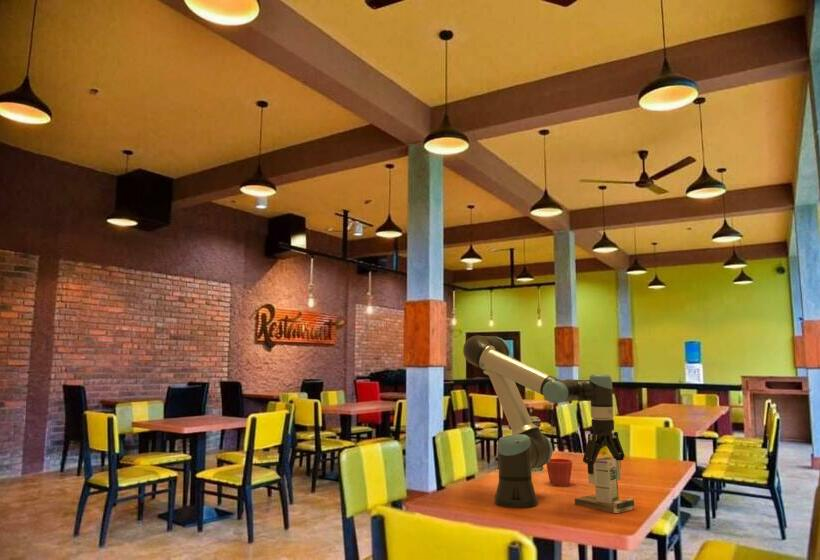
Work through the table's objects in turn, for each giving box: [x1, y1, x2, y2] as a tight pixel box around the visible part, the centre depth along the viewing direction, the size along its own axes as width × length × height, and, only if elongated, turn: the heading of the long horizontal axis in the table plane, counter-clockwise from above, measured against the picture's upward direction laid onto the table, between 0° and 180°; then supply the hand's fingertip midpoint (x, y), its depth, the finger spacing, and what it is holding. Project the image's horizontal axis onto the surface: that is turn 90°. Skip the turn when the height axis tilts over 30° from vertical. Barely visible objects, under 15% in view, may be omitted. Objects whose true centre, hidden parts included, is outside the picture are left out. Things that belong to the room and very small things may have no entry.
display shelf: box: [574, 494, 636, 514], centre depth 202 cm, size 10×17×4 cm, turn 36°
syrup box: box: [594, 456, 620, 504], centre depth 202 cm, size 6×6×14 cm
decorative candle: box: [529, 415, 544, 474], centre depth 273 cm, size 9×9×25 cm
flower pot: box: [545, 458, 573, 487], centre depth 242 cm, size 11×11×10 cm
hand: (605, 481), depth 203 cm, fingers open, 13 cm apart
